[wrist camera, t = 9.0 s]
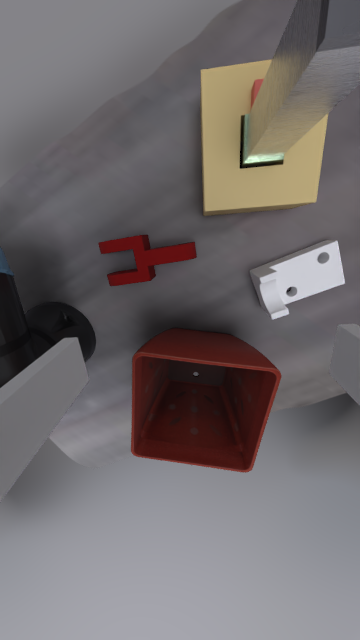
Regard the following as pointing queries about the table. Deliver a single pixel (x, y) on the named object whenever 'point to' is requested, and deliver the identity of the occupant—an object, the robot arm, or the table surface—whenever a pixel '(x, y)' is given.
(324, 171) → the table surface
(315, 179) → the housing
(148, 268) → the mechanical linkage
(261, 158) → the column
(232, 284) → the table surface
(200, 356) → the plant pot
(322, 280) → the bracket
